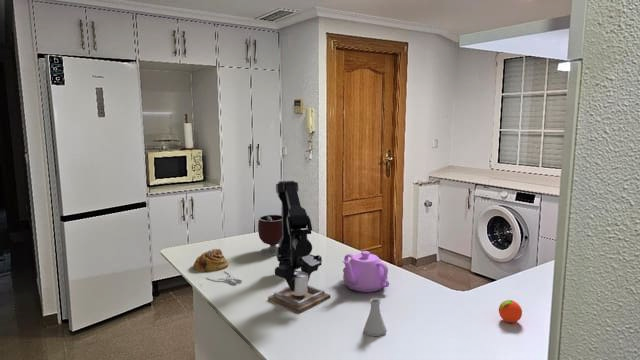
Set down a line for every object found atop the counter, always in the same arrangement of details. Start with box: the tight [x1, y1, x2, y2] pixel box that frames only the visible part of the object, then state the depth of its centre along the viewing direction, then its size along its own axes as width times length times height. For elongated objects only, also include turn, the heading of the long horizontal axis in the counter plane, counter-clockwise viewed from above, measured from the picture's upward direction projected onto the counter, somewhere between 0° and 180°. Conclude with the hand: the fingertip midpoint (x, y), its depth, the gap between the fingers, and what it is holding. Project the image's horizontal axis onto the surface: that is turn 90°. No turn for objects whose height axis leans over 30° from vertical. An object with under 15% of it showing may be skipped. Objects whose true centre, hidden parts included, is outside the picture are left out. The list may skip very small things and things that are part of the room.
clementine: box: [498, 299, 523, 324], centre depth 138 cm, size 8×7×7 cm
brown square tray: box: [267, 285, 331, 314], centre depth 157 cm, size 16×16×3 cm
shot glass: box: [291, 270, 309, 296], centre depth 156 cm, size 7×7×7 cm
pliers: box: [206, 270, 243, 286], centre depth 176 cm, size 10×2×15 cm
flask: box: [363, 298, 387, 337], centre depth 133 cm, size 7×7×10 cm
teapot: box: [342, 250, 390, 293], centre depth 166 cm, size 22×22×14 cm
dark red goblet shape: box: [257, 214, 282, 257], centre depth 208 cm, size 16×14×20 cm
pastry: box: [193, 248, 229, 273], centre depth 191 cm, size 13×15×8 cm
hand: (299, 288), depth 157 cm, fingers closed on shot glass, 6 cm apart
